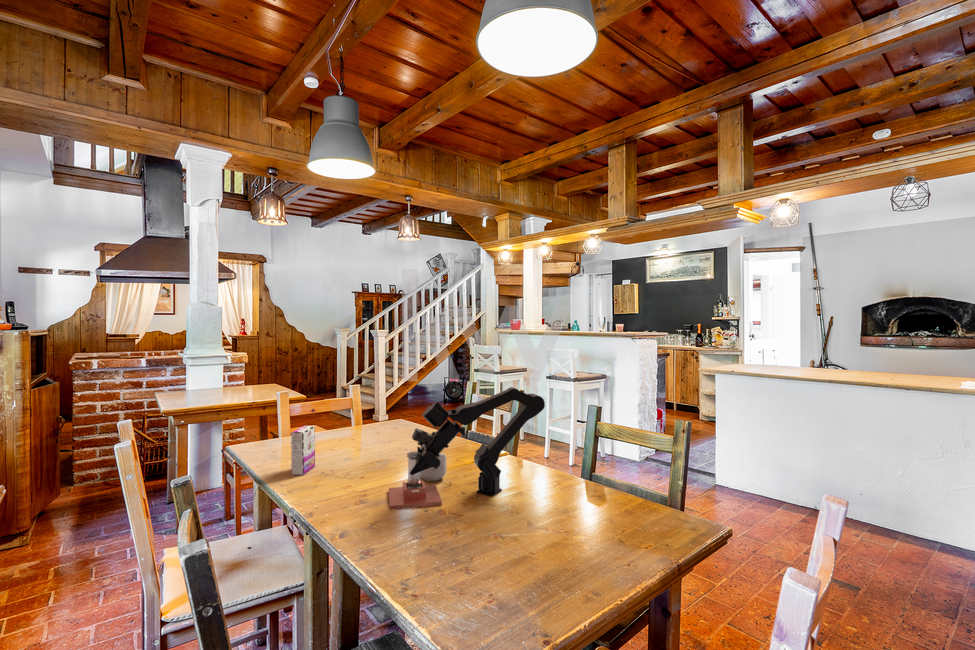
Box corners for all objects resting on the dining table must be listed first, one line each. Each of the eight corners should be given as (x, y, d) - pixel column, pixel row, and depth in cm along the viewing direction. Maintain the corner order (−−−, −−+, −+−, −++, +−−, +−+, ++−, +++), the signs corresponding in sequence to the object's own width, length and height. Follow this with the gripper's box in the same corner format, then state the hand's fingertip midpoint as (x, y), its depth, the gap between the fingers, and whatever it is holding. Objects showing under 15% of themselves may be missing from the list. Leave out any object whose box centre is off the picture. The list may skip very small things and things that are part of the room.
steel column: (420, 490, 151) (421, 451, 151) (422, 495, 147) (422, 455, 147) (406, 491, 150) (406, 452, 150) (407, 496, 146) (407, 456, 146)
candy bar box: (303, 466, 182) (303, 425, 182) (315, 466, 182) (315, 425, 182) (290, 475, 170) (290, 431, 171) (303, 475, 170) (303, 432, 170)
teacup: (432, 485, 160) (432, 463, 160) (410, 479, 167) (411, 457, 167) (457, 475, 171) (458, 454, 172) (437, 470, 178) (437, 449, 178)
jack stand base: (435, 487, 158) (435, 475, 158) (441, 505, 143) (442, 491, 143) (388, 491, 154) (388, 479, 154) (390, 509, 139) (390, 496, 139)
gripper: (423, 414, 159) (391, 448, 156) (430, 426, 141) (393, 464, 138) (445, 436, 160) (414, 469, 158) (455, 449, 142) (419, 488, 140)
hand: (410, 472), depth 148 cm, fingers closed on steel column, 4 cm apart
